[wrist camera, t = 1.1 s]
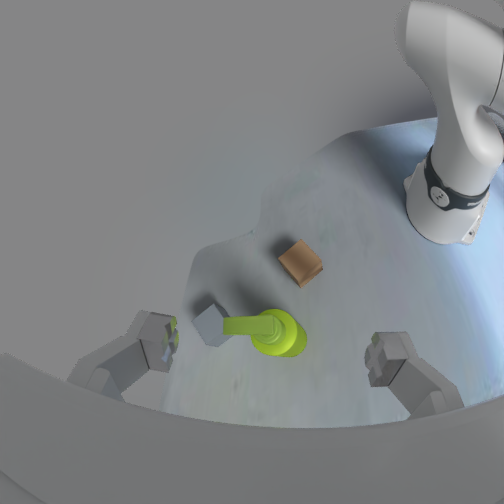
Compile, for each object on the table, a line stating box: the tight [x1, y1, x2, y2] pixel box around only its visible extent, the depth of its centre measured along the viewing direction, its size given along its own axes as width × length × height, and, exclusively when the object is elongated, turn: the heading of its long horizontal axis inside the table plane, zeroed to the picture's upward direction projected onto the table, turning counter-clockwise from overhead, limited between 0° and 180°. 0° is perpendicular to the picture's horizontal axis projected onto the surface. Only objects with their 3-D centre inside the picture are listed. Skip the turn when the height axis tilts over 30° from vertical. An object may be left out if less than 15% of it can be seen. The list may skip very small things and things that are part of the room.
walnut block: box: [278, 239, 323, 288], centre depth 47 cm, size 5×5×5 cm
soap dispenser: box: [223, 309, 307, 357], centre depth 36 cm, size 6×7×20 cm
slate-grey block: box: [192, 304, 233, 347], centre depth 47 cm, size 5×5×5 cm
